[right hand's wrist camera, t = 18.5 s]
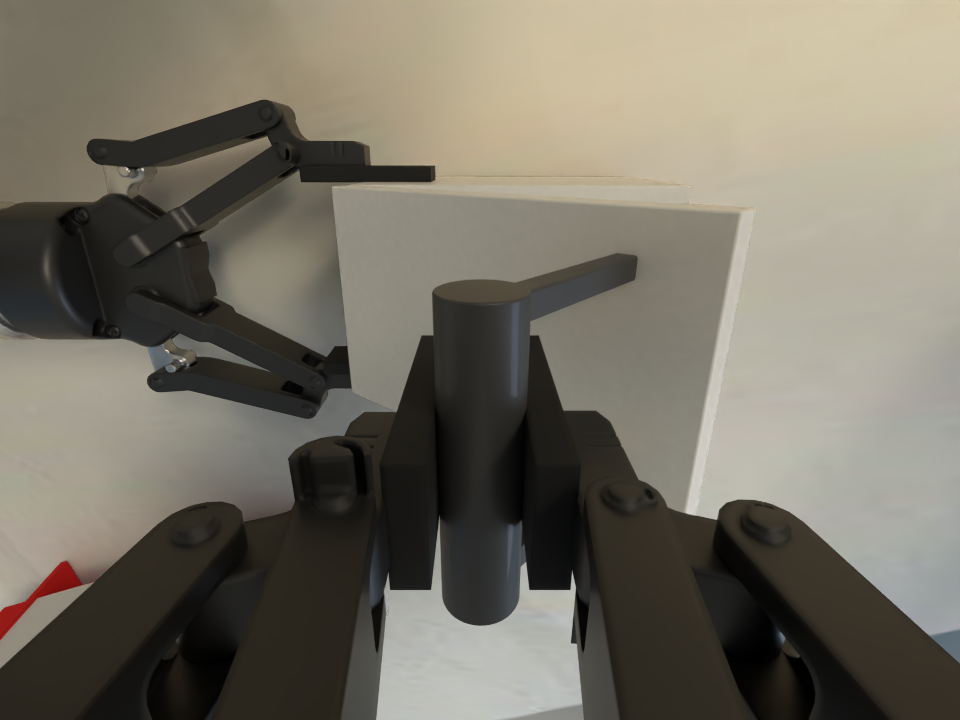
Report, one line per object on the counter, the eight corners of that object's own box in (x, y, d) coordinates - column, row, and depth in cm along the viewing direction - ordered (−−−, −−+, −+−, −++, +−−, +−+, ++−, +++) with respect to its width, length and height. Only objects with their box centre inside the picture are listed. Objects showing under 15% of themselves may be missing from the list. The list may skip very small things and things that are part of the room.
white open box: (627, 176, 33) (692, 185, 23) (612, 320, 37) (662, 385, 26) (390, 176, 33) (347, 184, 23) (399, 319, 37) (365, 383, 26)
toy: (396, 692, 37) (-13, 816, 36) (399, 563, 50) (96, 652, 48) (342, 567, 33) (-125, 703, 32) (360, 460, 45) (25, 555, 44)
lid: (757, 207, 13) (593, 251, 7) (694, 523, 16) (552, 732, 10) (354, 185, 23) (144, 194, 17) (372, 384, 26) (204, 451, 20)
